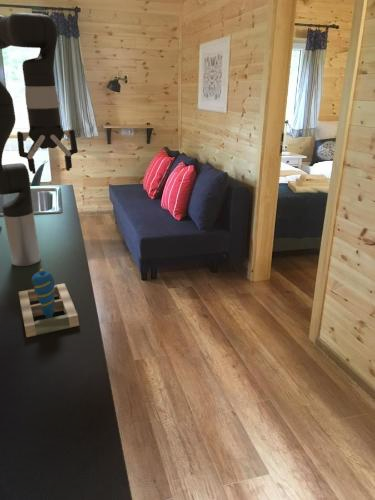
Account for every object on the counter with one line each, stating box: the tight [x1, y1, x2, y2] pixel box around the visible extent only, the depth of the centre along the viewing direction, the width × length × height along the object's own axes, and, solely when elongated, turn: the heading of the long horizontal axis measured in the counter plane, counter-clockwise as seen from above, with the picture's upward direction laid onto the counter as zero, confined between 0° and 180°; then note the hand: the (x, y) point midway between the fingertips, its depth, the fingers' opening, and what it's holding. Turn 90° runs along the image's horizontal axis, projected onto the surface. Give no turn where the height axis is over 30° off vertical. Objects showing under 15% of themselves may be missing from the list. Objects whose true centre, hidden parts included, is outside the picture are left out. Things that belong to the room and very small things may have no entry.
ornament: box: [31, 266, 56, 319], centre depth 106 cm, size 5×5×15 cm
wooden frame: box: [18, 283, 80, 338], centre depth 112 cm, size 20×12×3 cm, turn 24°
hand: (51, 171), depth 110 cm, fingers open, 8 cm apart
